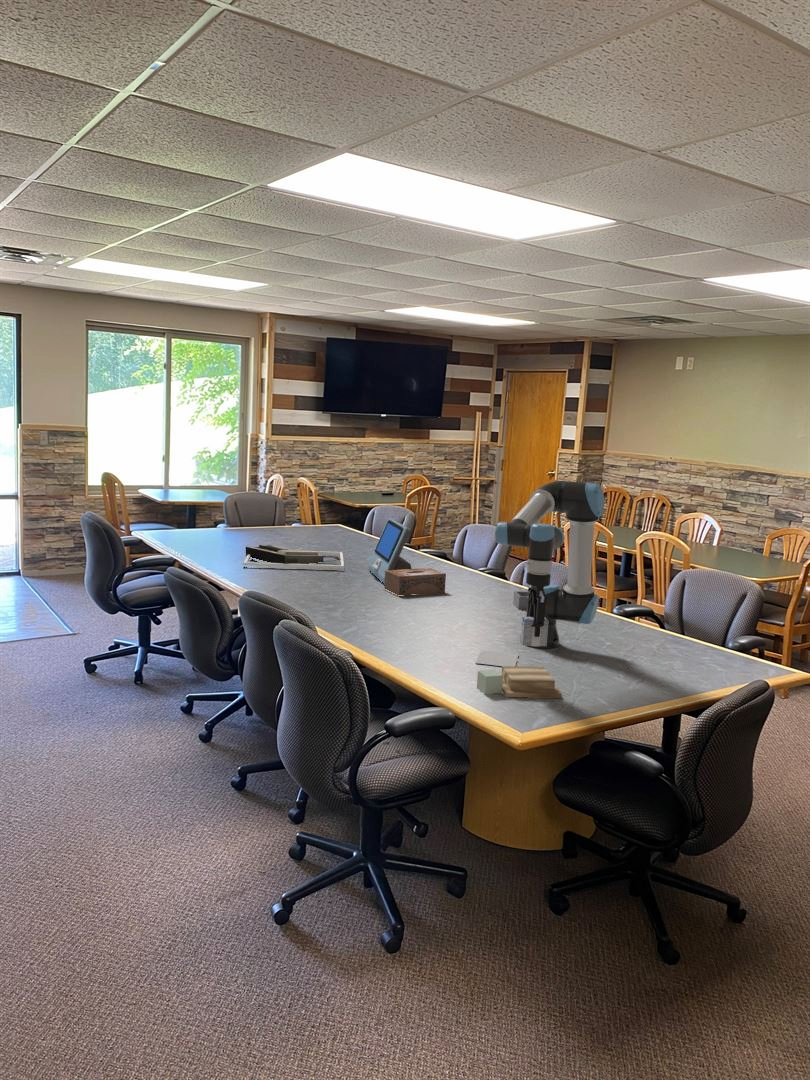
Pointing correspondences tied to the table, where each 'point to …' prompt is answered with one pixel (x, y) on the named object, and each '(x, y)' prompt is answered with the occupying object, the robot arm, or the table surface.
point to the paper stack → (497, 658)
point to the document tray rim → (300, 564)
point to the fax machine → (284, 555)
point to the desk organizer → (520, 599)
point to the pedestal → (528, 683)
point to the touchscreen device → (390, 550)
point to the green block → (489, 681)
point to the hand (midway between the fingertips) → (533, 643)
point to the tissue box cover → (415, 581)
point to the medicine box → (527, 631)
